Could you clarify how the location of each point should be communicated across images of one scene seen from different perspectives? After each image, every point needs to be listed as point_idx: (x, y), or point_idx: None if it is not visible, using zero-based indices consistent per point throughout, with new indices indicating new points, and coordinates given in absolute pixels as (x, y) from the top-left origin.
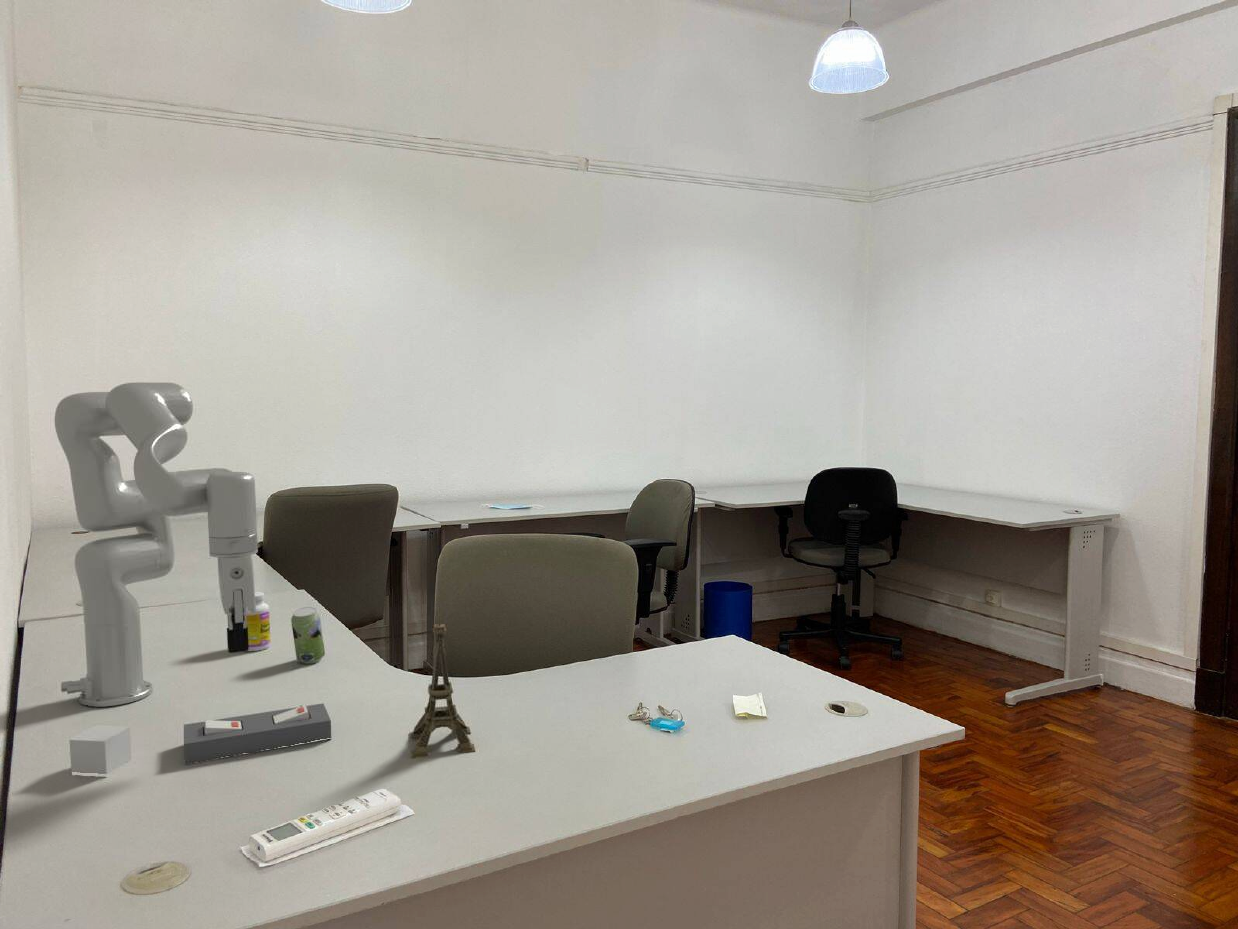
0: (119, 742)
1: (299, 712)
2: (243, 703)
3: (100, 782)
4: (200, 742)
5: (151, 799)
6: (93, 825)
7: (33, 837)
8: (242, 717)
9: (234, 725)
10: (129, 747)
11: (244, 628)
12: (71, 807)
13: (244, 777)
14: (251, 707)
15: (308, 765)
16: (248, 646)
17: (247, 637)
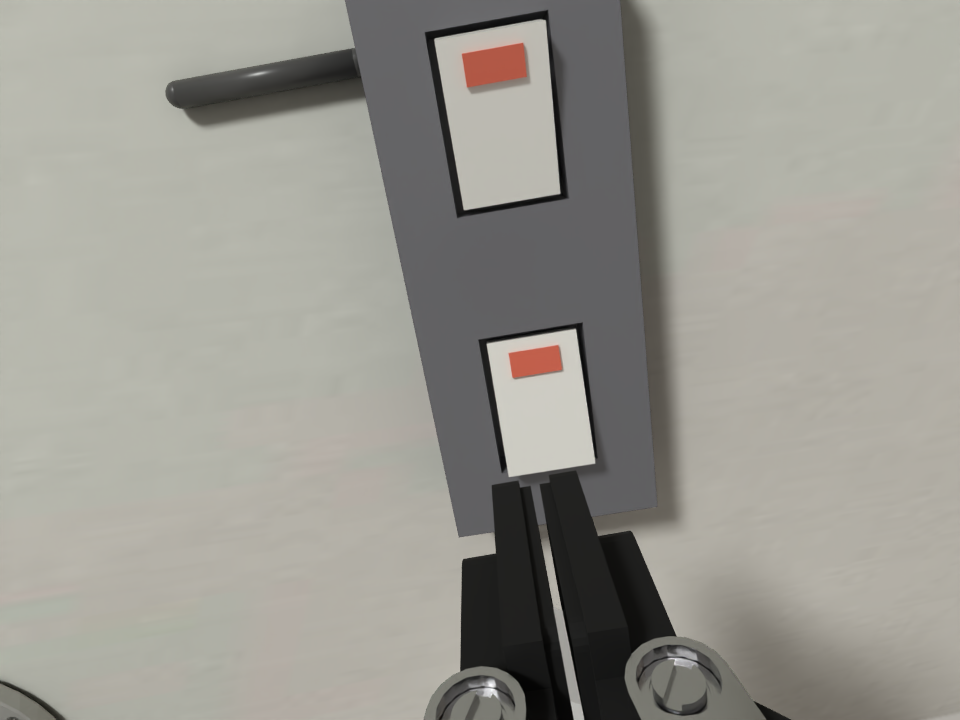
0: None
1: (526, 71)
2: (64, 358)
3: None
4: (653, 457)
5: (849, 508)
6: (935, 601)
7: (926, 694)
8: (441, 341)
9: (553, 362)
10: (560, 643)
11: (702, 663)
12: (800, 665)
13: (821, 272)
14: (116, 322)
15: (825, 34)
16: (580, 484)
17: (600, 547)
